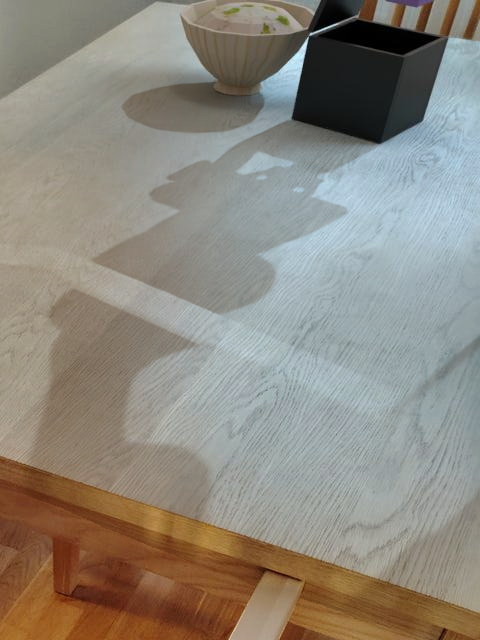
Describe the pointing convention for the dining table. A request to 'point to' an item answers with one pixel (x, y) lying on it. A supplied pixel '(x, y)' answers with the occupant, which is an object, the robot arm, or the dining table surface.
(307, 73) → the bin
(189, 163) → the dining table surface
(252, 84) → the bowl
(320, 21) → the bin lid
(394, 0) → the purple rectangular block
